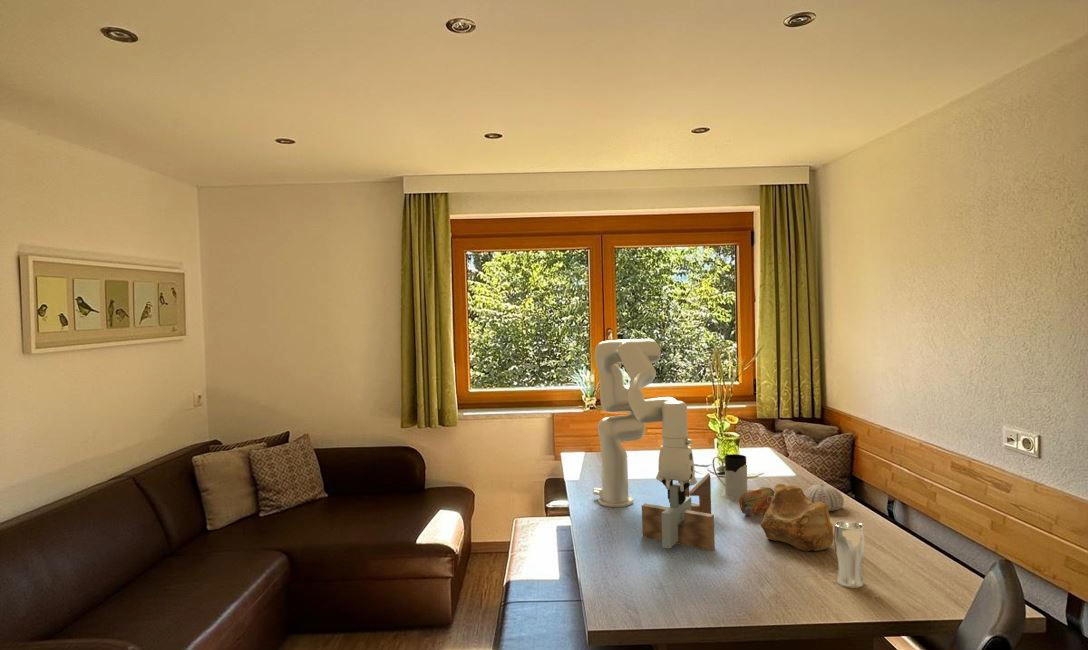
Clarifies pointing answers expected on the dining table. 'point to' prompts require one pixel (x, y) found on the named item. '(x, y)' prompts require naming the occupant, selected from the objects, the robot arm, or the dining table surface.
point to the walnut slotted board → (680, 527)
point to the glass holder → (734, 476)
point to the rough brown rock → (797, 520)
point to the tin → (756, 501)
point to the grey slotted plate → (673, 517)
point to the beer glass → (849, 552)
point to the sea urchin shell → (825, 496)
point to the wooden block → (701, 495)
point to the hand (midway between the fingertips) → (676, 502)
